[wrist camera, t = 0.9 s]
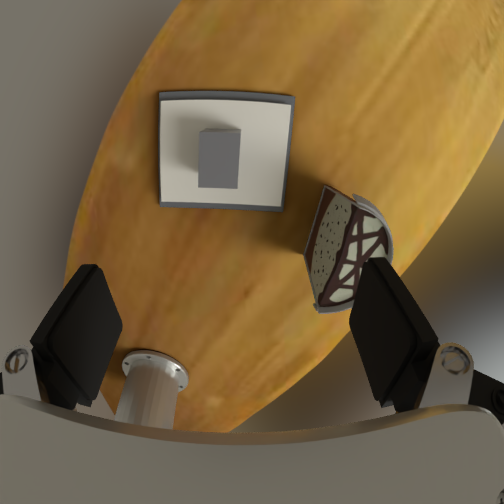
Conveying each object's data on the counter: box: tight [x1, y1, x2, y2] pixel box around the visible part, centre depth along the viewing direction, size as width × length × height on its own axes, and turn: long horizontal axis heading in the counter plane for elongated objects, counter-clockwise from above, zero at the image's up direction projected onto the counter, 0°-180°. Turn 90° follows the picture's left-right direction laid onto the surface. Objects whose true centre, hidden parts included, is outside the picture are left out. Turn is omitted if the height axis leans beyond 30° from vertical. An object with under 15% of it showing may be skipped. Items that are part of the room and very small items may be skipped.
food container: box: [303, 185, 393, 314], centre depth 29 cm, size 12×6×10 cm, turn 169°
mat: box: [158, 91, 295, 212], centre depth 28 cm, size 13×14×1 cm
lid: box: [160, 100, 291, 207], centre depth 25 cm, size 11×13×6 cm
